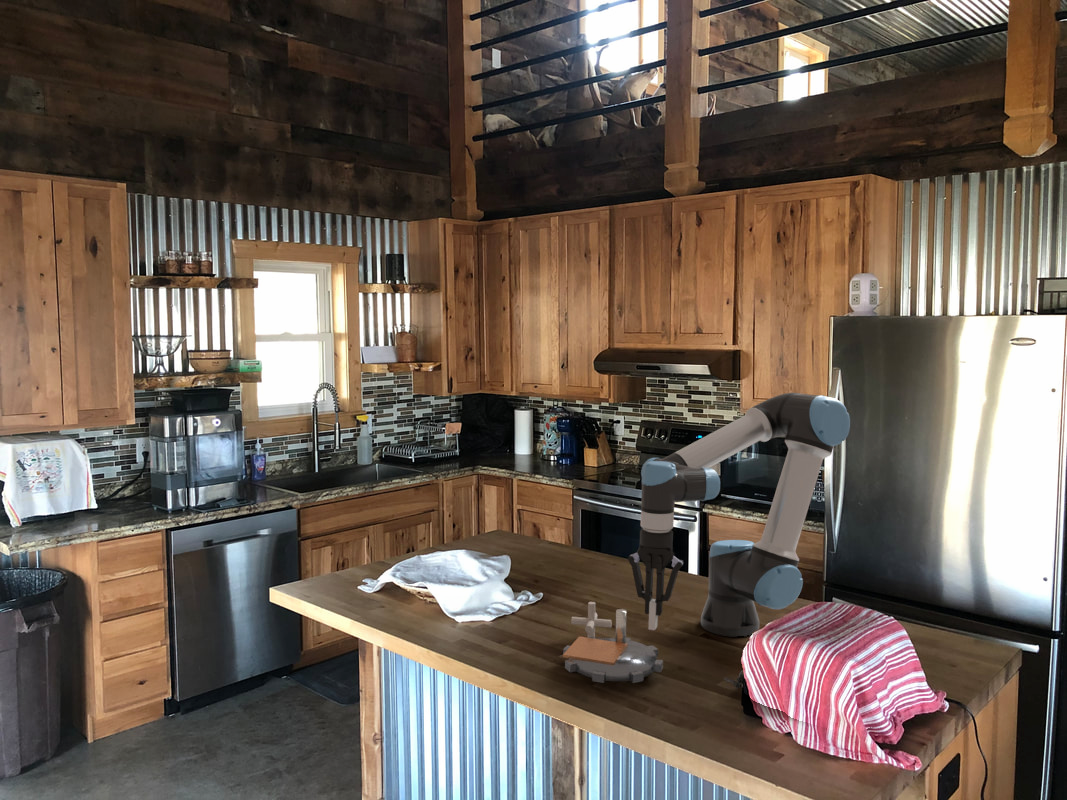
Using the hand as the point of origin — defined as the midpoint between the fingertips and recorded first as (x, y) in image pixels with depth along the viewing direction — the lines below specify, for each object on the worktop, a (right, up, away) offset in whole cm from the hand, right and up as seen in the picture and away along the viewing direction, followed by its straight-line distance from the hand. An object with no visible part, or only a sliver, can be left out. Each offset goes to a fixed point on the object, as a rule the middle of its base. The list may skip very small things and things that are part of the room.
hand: (652, 627), depth 199 cm
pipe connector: (-13, -8, +16) cm, 22 cm away
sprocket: (-10, -7, -3) cm, 12 cm away
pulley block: (+29, -12, -17) cm, 36 cm away
